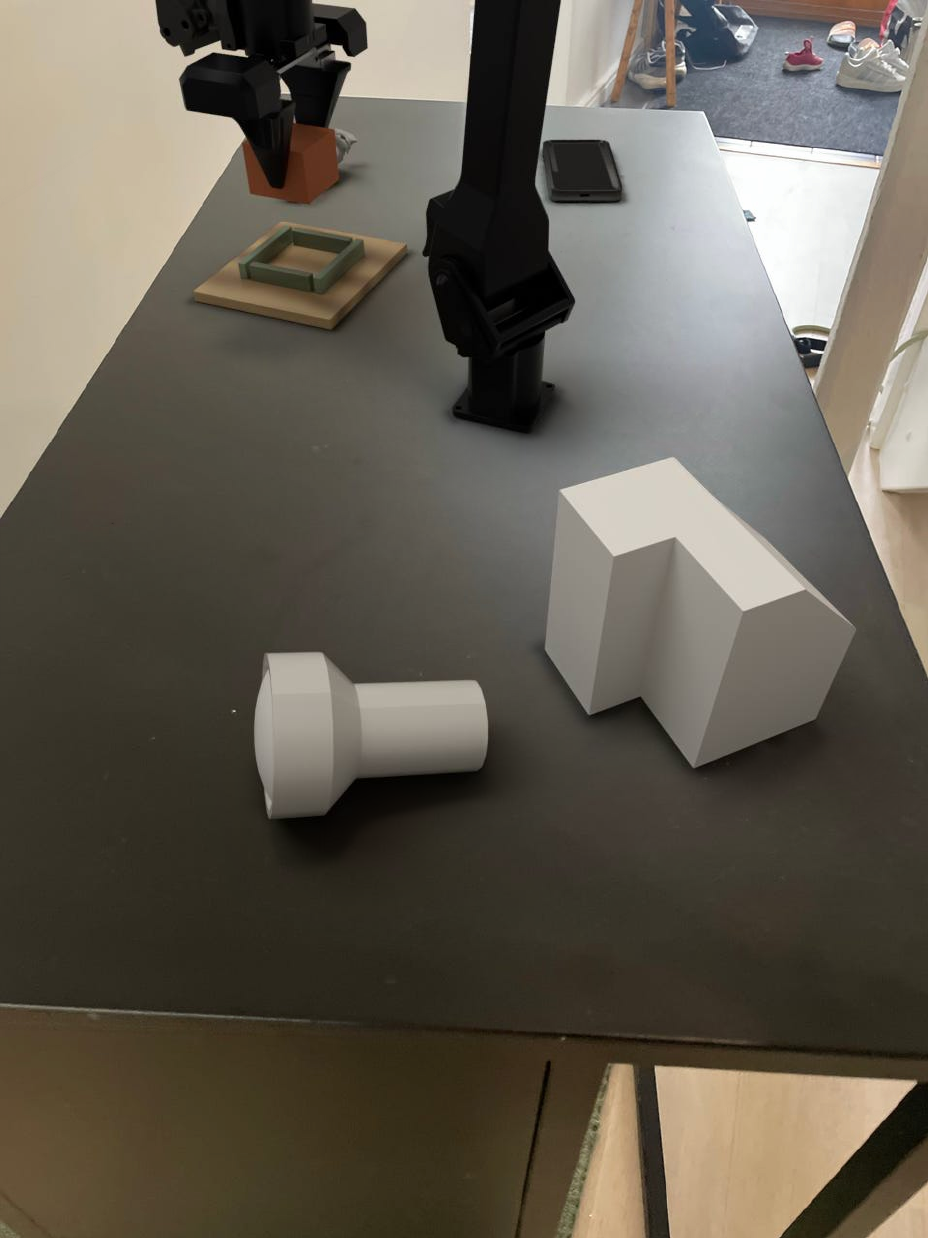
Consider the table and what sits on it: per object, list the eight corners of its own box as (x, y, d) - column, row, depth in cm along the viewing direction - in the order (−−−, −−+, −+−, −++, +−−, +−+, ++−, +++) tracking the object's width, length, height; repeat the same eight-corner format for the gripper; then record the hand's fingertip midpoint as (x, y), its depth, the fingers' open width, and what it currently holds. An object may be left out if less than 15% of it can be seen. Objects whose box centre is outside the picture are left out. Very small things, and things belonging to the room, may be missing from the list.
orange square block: (308, 204, 74) (302, 152, 71) (249, 193, 75) (241, 142, 72) (339, 179, 77) (334, 128, 74) (282, 169, 79) (275, 119, 76)
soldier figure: (266, 206, 100) (303, 133, 105) (303, 235, 102) (338, 162, 107) (298, 166, 94) (336, 91, 98) (337, 198, 96) (372, 122, 101)
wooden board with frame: (331, 330, 80) (328, 303, 78) (195, 301, 83) (189, 274, 81) (407, 253, 90) (406, 227, 88) (283, 230, 93) (279, 205, 92)
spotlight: (248, 702, 50) (255, 620, 43) (449, 694, 53) (483, 617, 46) (255, 845, 45) (263, 777, 39) (473, 827, 48) (514, 762, 42)
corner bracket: (544, 649, 54) (559, 489, 45) (705, 594, 57) (748, 434, 48) (639, 790, 47) (677, 634, 38) (815, 719, 50) (888, 559, 42)
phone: (608, 139, 107) (623, 190, 97) (607, 149, 108) (622, 201, 98) (541, 139, 107) (549, 190, 97) (540, 149, 108) (549, 201, 98)
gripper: (236, -90, 72) (266, 122, 84) (88, -37, 60) (146, 202, 72) (363, -78, 69) (376, 140, 81) (234, -20, 57) (271, 226, 69)
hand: (294, 174), depth 76 cm, fingers closed on orange square block, 5 cm apart
